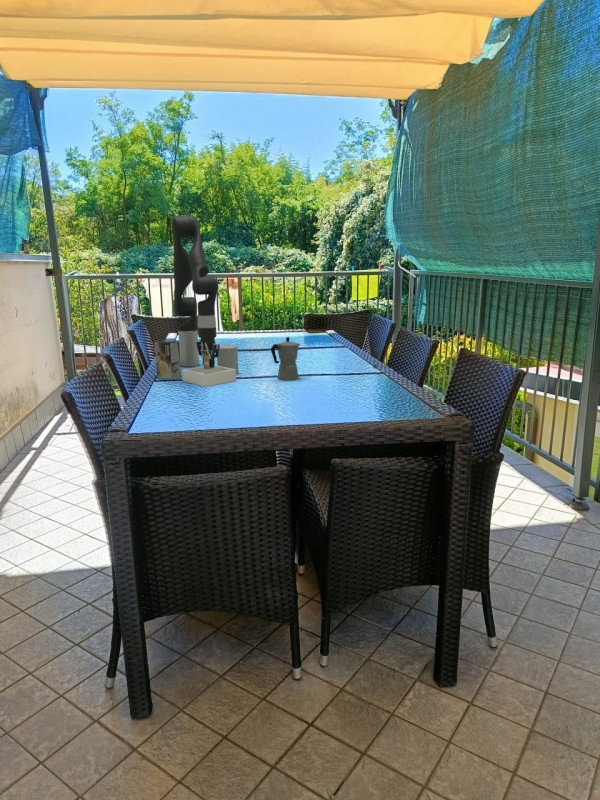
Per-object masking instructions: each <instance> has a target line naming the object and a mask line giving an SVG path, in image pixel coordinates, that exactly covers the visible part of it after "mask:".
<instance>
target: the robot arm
mask: <svg viewBox="0 0 600 800" xmlns="http://www.w3.org/2000/svg"><path fill="white" fill-rule="evenodd" d="M171 219H172V220H171V232H172V244H173V246H172V247H173V279H174V281H173V282H174V289H173V290H174V291H173V293H174V294H173V295H174V296H173V311H174V315H175V316H176V317H178V318H179V317H180V318H182V317H183V318H184V317H189V319H188V320H186V321H185V322H183V323H180V324H178V327H177V329H178V331H177V332H178V341H179V349H180V364H181V367H186V368H187V367H190V368H191V367H199V365H200V357H201V358H202V367H203V366H204V356H203V354H208V355H209V367H210V368H213V367H215V365H216V364H215V363H216V361H215V360H216V359H217V357H218V353H219V347H220V346H221V345H220V343H217V342H216V340H215V338H216V337H217V319H216V310H215V309H216V306H215V305H216V299H217V295H218V290H219V281H218V279H216V278H215V277H214V276H207V275H208V274H209V272H210V270H209V265H208V263H207V260H206V256H205V252H204V247H203V245H204V244H203V239H202V235H201V231H200V224H199V221H198V218H197V217H196V216H195V215H194V214H193V215H191V214H189V215H188V214H186V215H175V216H173V217H172V218H171ZM192 238H193V243H192V246H191V248H190V250H189V253H188V251H187V250H186V248H185V247H184V245H183V244H182V239H192ZM191 283H192V284H191ZM190 284H191V285H192V287H191V288H192V291H193V293H194V294H195V295H199V296H200V295H201V296H203V295H204V296H205V295H207V297H206V299H203V300H200V301H198V300H197V298H196V297H195V296H186V297H185V296H183V294H184V292H185V290H186V289H187V288H188V287H189V285H190ZM197 301H198V302H197ZM199 339H200V341H199ZM211 354H212V356H211Z"/></svg>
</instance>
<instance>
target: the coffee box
mask: <svg viewBox="0 0 600 800" xmlns="http://www.w3.org/2000/svg"><path fill="white" fill-rule="evenodd" d="M154 349H155V350H154V353H155V354H154V355H155V363H156V364H155V365H156V376H157V377H156V378H157V379H161V380H162V379H163V380H165V379H166V380H176V379H180V378H182V366H181V364H180V349H179V340H178V341H176V340H166V339H165V340H157V341H154Z"/></svg>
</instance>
